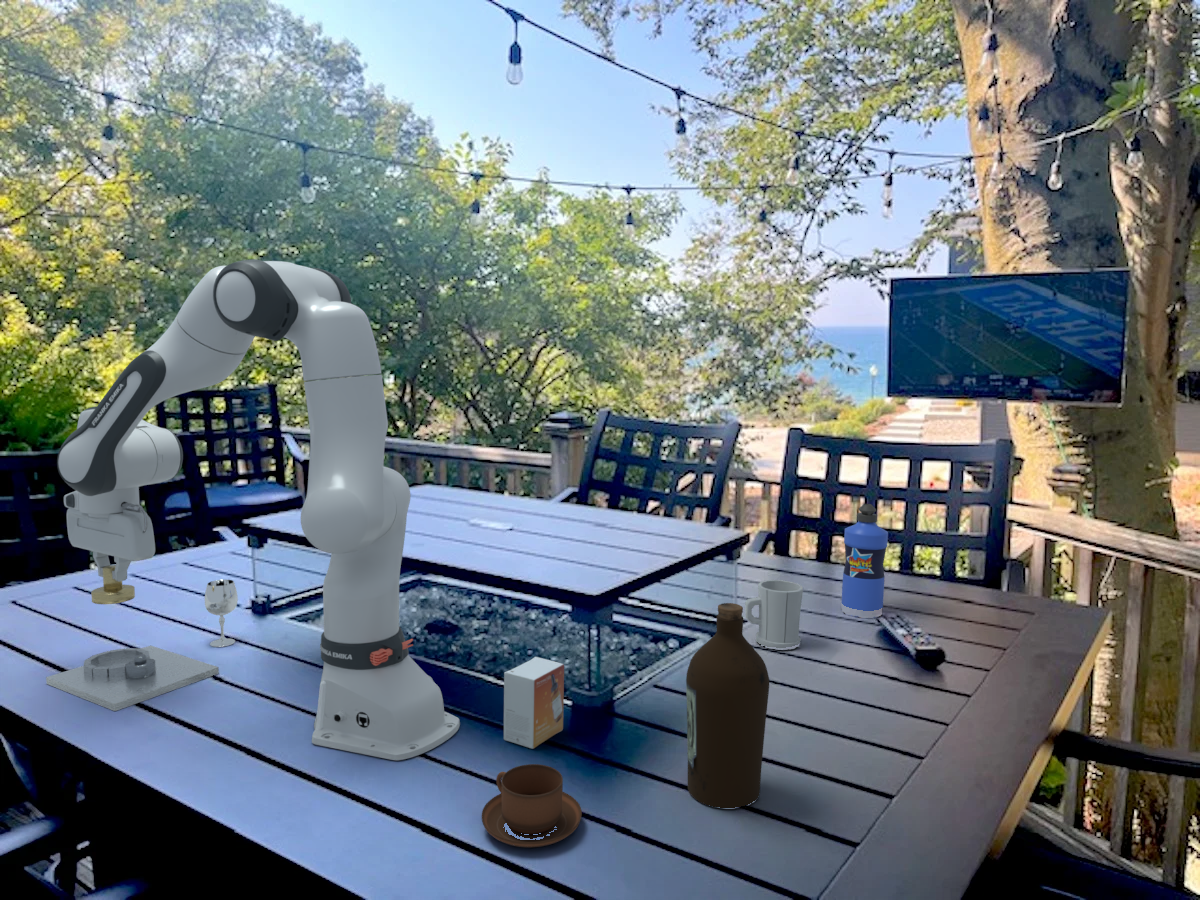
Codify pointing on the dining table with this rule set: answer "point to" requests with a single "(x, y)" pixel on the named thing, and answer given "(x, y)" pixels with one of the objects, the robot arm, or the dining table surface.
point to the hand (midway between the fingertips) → (112, 578)
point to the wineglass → (221, 605)
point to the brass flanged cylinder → (112, 589)
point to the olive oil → (726, 715)
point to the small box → (533, 702)
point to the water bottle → (864, 562)
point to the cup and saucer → (531, 807)
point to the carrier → (130, 676)
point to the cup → (777, 613)
